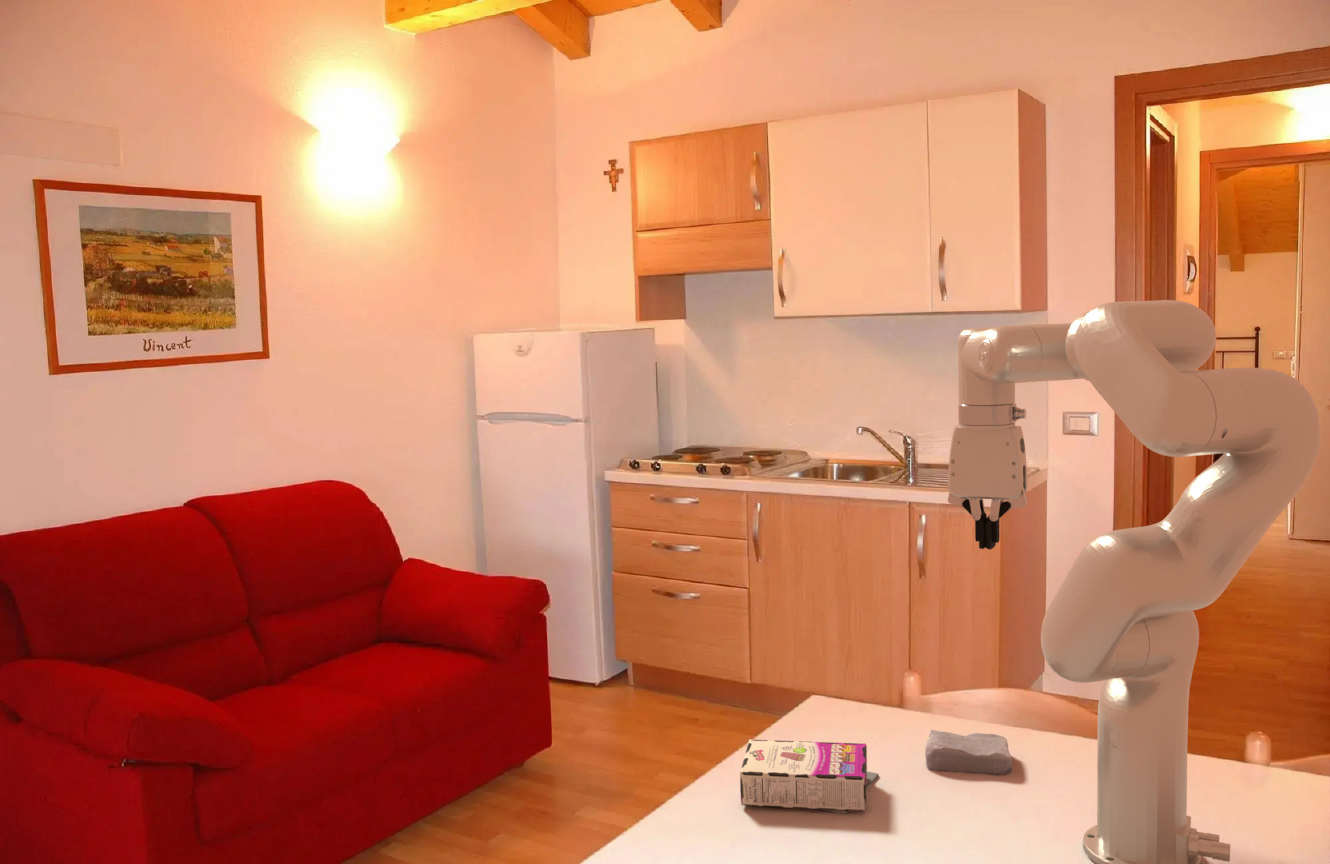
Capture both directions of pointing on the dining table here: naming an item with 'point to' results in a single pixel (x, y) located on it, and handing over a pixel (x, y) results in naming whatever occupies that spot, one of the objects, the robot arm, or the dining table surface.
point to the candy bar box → (804, 775)
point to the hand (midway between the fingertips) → (987, 547)
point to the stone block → (968, 753)
